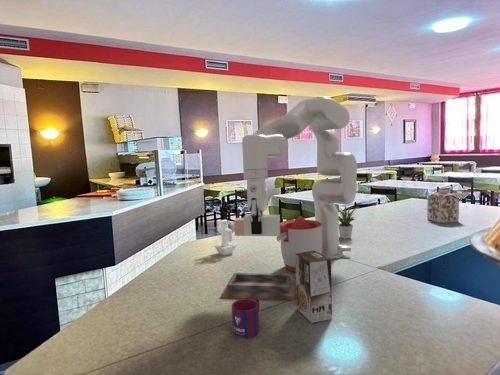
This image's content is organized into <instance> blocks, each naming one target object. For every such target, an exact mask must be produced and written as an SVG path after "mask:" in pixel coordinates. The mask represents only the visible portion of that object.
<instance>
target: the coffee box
mask: <svg viewBox="0 0 500 375" xmlns="http://www.w3.org/2000/svg"><path fill="white" fill-rule="evenodd" d="M295 261H296V272H295V287H296V304H297V305H296V306H297V307H296V309H297V310H298V311H299V312H300V313H301V314H302V315H303V316H304V317H305V318H306V319H307V320H308V321H309V322H310V323H311V324H314V323H319V322H323V321H330V320H333V298H332V297H333V296H332V294H333V293H332V292H333V291H332V290H333V289H332V285H333V284H332V259H330V258H328V257H326V256H324V255H322V254H320V253H318V252H317V251H308V252H303V253H297V254H295Z"/></svg>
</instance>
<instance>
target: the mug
mask: <svg viewBox="0 0 500 375" xmlns="http://www.w3.org/2000/svg"><path fill="white" fill-rule="evenodd" d="M231 321H232V322H231V323H232V333H233V335H235V337H238V338H242V339H243V338H244V339H247V338H252V337H253V338H254V337H255V336H256V335H259V333H260V328H261V327H260V326H261V325H260V298H240V299H238V300H235V301H233V302H232V304H231Z"/></svg>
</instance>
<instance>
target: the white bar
mask: <svg viewBox="0 0 500 375" xmlns="http://www.w3.org/2000/svg"><path fill="white" fill-rule="evenodd" d="M233 221H234V222H233V223H234V236H235V237H277V236H279V235H280V223H281V214H263V215H260V221H261V222H262V234H252V233H251V214H245V215H244V216H243V217H236V218H235V219H234V220H233Z"/></svg>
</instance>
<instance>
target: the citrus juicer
mask: <svg viewBox="0 0 500 375" xmlns="http://www.w3.org/2000/svg"><path fill="white" fill-rule="evenodd" d="M321 226H322V223H320V222H318V221H315V220H314V219H313V220H312V219H305V217H304V216H302V215H299V216H297V218H296V219H292V220H291V219H290V220H286V221H285V220H284V221H282V222H280V235H279V236H276V241H277V242H279V243H280V250H281V256H282V260H283V263H284V266H285V268H286V270H288V271H290V272H295V273H296V261H295V254H297V253H303V252H308V251H317V252H318V253H320V254H321V250H322V239H321Z"/></svg>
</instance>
